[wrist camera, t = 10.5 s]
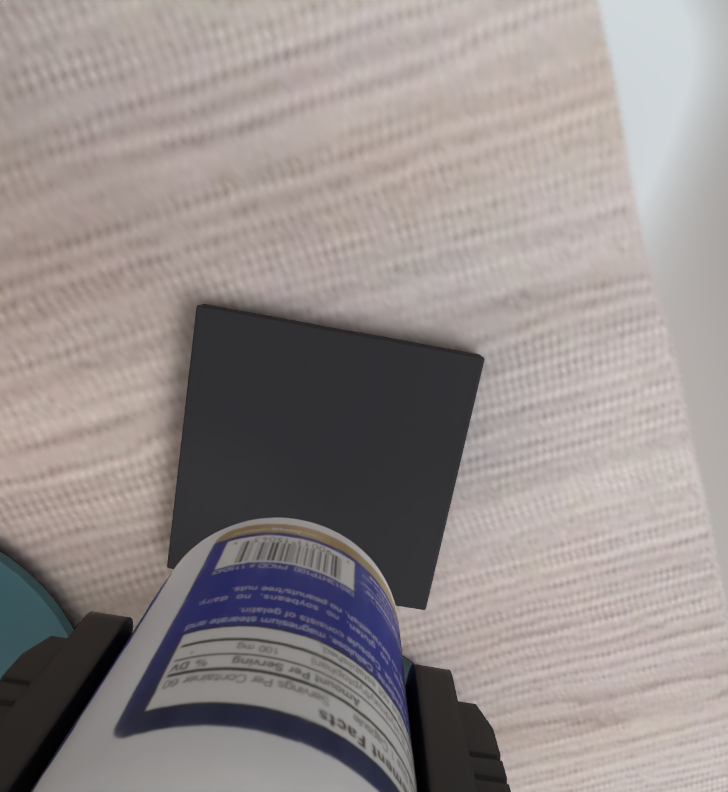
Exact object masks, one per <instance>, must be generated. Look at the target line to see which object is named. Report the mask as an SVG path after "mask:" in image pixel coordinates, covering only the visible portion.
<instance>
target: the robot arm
mask: <svg viewBox="0 0 728 792" xmlns="http://www.w3.org/2000/svg"><path fill="white" fill-rule="evenodd" d="M132 632H133V621H132V618H130V617H124V616H117V615H111V614H105V613H99V612H89V613H88V614H87V615H86V616H85V617H84V618H83V620H82V621H81V622H80V623H79V624H78V626H77V627H76V628H75V629H74V631H73V632H72V633H71V634H70V636H69V637H68V638H63V637H56V636H50V637H49V638H47V639H45V640H44V641H42V642H40V643H39V644H37V645H35V646H34V647H32V648H31V649H29V650H27V651H26V652H24V653H22V654H21V656H20V657H19V658H18V659H17V660H16V661H15V662H14V663H13V664H12V666H11V667H10V668H9V669H8V670H7V671H6V672H5V673H4V674H3V676H2V677H1V680H0V792H31V790H32V788H33V787H34V785H35V784H36V782H37V780H38V779H39V777H40V776H41V774H42V773H43V771H44V770H45V768H46V767H47V765H48V764H49V762H50V760H51V759H52V757H53V756H54V754H55V753H56V751H57V750H58V748H59V747H60V745H61V743H62V742H63V740H64V739H65V737H66V736H67V734H68V733H69V731H70V730H71V728H72V726H73V725H74V723H75V722H76V720H77V719H78V717H79V716H80V714H81V712H82V711H83V709H84V708H85V706H86V705H87V703H88V702H89V700H90V699H91V697H92V696H93V694H94V692H95V691H96V689H97V688H98V686H99V685H100V683H101V682H102V680H103V679H104V677H105V675H106V674H107V672H108V671H109V669H110V668H111V666H112V665H113V663H114V662H115V660H116V658H117V657H118V655H119V654H120V652H121V651H122V649H123V647H124V646H125V644H126V643H127V641H128V639H129V638H130V636H131V635H132ZM405 688H406V698H407V707H408V715H409V724H410V734H411V744H412V753H413V758H414V766H415V774H416V782H417V792H511V791H510V788H509V785H508V784H507V777H506V773H505V770H504V766H503V763H502V761H500V752H499V749H498V745H497V741H496V738H495V734H494V731H493V728H492V727H491V725H490V724H489V722H488V721H487V720H486V718H485V717H484V715H483V714H482V713H481V711H480V710H479V708H478V707H477V705H476V704H471V703H465V702H458V700H457V695H456V691H455V686H454V682H453V677H452V674H451V671H450V670H446V669H440V668H434V667H428V666H422V665H415V664H412V665H411V666H410V669H409V672H408V676H407V680H406V684H405Z"/></svg>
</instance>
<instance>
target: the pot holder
mask: <svg viewBox="0 0 728 792" xmlns="http://www.w3.org/2000/svg"><path fill="white" fill-rule="evenodd" d="M483 363H484V358H483V357H482V356H481V355H479V354H473V353H468V352H462V351H457V350H451V349H446V348H440V347H435V346H430V345H424V344H419V343H413V342H408V341H402V340H397V339H391V338H386V337H380V336H375V335H370V334H364V333H359V332H353V331H348V330H342V329H337V328H331V327H326V326H321V325H315V324H310V323H304V322H299V321H293V320H288V319H282V318H277V317H272V316H266V315H261V314H255V313H250V312H244V311H239V310H233V309H228V308H223V307H217V306H212V305H206V304H202V305H198V306H197V309H196V317H195V326H194V335H193V344H192V353H191V362H190V370H189V379H188V388H187V397H186V406H185V414H184V423H183V432H182V441H181V450H180V458H179V467H178V476H177V485H176V494H175V502H174V511H173V520H172V529H171V538H170V547H169V555H168V564H167V567H168V568H171V569H174V568H175V567H176V566H177V564H178V563H179V562H180V561H181V560H182V558H183V557H184V556H185V555H186V554H187V553H188V552H189V551H190V550H191V549H192V548H194V547H195V546H196V545H197V544H199V543H200V542H201V541H203V540H204V539H206V538H207V537H209V536H211V535H212V534H214V533H216V532H218V531H220V530H223V529H225V528H227V527H230V526H232V525H235V524H238V523H242V522H245V521H249V520H254V519H262V518H291V519H298V520H303V521H308V522H312V523H315V524H318V525H321V526H324V527H326V528H328V529H331V530H333V531H335V532H337V533H339V534H341V535H342V536H344V537H346V538H347V539H349V540H350V541H352V542H353V543H354V544H356V545H357V546H358V547H359V548H360V549H362V550H363V551H364V552H365V553H366V554H367V555H368V556H369V557H370V559H371V560H372V561H373V562H374V563H375V565H376V566H377V567H378V569H379V570H380V572H381V573H382V575H383V576H384V578H385V580H386V582H387V584H388V586H389V588H390V591H391V593H392V596H393V599H394V602H395V605H397V606H404V607H410V608H416V609H422V610H425V609H426V606H427V601H428V597H429V593H430V589H431V584H432V580H433V576H434V572H435V567H436V563H437V559H438V555H439V550H440V546H441V542H442V538H443V533H444V529H445V525H446V521H447V516H448V512H449V508H450V504H451V499H452V495H453V491H454V487H455V482H456V478H457V474H458V470H459V465H460V461H461V457H462V453H463V448H464V444H465V440H466V436H467V431H468V427H469V423H470V418H471V414H472V410H473V406H474V401H475V397H476V393H477V389H478V384H479V380H480V376H481V372H482V367H483Z"/></svg>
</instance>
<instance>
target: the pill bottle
mask: <svg viewBox="0 0 728 792" xmlns="http://www.w3.org/2000/svg"><path fill="white" fill-rule="evenodd" d="M31 792H417V782H416V774H415V766H414V758H413V753H412V744H411V734H410V724H409V715H408V707H407V698H406V688H405V678H404V668H403V659H402V649H401V641H400V632H399V624H398V616H397V610H396V606H395V602H394V599H393V596H392V593H391V591H390V588H389V586H388V584H387V582H386V580H385V578H384V576H383V575H382V573H381V572H380V570H379V569H378V567H377V566H376V565H375V563H374V562H373V561H372V560H371V559H370V557H369V556H368V555H367V554H366V553H365V552H364V551H363V550H362V549H360V548H359V547H358V546H357V545H356V544H354V543H353V542H352V541H350V540H349V539H347V538H346V537H344V536H342V535H341V534H339V533H337V532H335V531H333V530H331V529H328V528H326V527H324V526H321V525H318V524H315V523H312V522H308V521H303V520H298V519H291V518H262V519H254V520H249V521H245V522H242V523H238V524H235V525H232V526H230V527H227V528H225V529H223V530H220V531H218V532H216V533H214V534H212V535H211V536H209V537H207V538H206V539H204V540H203V541H201V542H200V543H199V544H197V545H196V546H195V547H194V548H192V549H191V550H190V551H189V552H188V553H187V554H186V555H185V556H184V557H183V558H182V560H181V561H180V562H179V563H178V564H177V566H176V567H175V568H174V570H173V571H172V573H171V574H170V576H169V577H168V579H167V580H166V581H165V583H164V584H163V586H162V587H161V589H160V590H159V592H158V594H157V595H156V597H155V598H154V599H153V601H152V602H151V604H150V606H149V607H148V609H147V611H146V612H145V614H144V616H143V618H142V619H141V621H140V622H139V624H138V625H137V627H136V629H135V630H134V632H133V633H132V635H131V636H130V638H129V639H128V641H127V643H126V644H125V646H124V647H123V649H122V651H121V652H120V654H119V655H118V657H117V658H116V660H115V662H114V663H113V665H112V666H111V668H110V669H109V671H108V672H107V674H106V675H105V677H104V679H103V680H102V682H101V683H100V685H99V686H98V688H97V689H96V691H95V692H94V694H93V696H92V697H91V699H90V700H89V702H88V703H87V705H86V706H85V708H84V709H83V711H82V712H81V714H80V716H79V717H78V719H77V720H76V722H75V723H74V725H73V726H72V728H71V730H70V731H69V733H68V734H67V736H66V737H65V739H64V740H63V742H62V743H61V745H60V747H59V748H58V750H57V751H56V753H55V754H54V756H53V757H52V759H51V760H50V762H49V764H48V765H47V767H46V768H45V770H44V771H43V773H42V774H41V776H40V777H39V779H38V780H37V782H36V784H35V785H34V787H33V788H32V790H31Z"/></svg>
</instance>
